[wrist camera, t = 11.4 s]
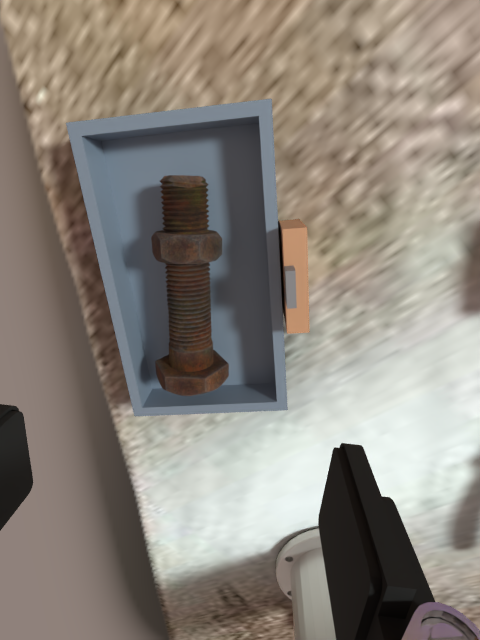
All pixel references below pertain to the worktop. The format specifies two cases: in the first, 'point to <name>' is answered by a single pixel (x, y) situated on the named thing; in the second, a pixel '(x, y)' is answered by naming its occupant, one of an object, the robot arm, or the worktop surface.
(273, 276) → the tray
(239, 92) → the worktop surface
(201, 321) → the bolt
